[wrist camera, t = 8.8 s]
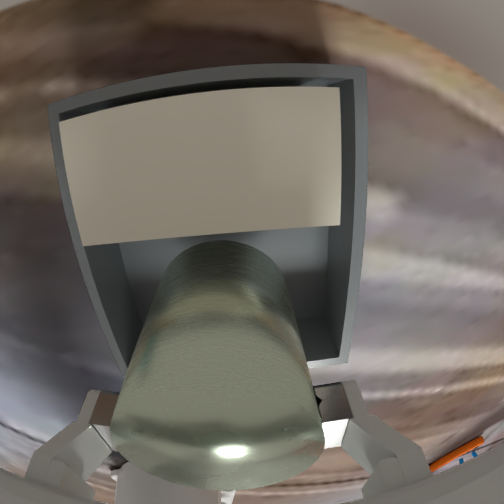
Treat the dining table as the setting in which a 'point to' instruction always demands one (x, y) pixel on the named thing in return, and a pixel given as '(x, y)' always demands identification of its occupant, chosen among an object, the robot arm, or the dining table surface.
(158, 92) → the tote
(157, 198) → the cream rectangular block
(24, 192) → the dining table surface
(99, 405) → the robot arm
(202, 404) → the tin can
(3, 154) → the dining table surface
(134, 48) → the dining table surface
